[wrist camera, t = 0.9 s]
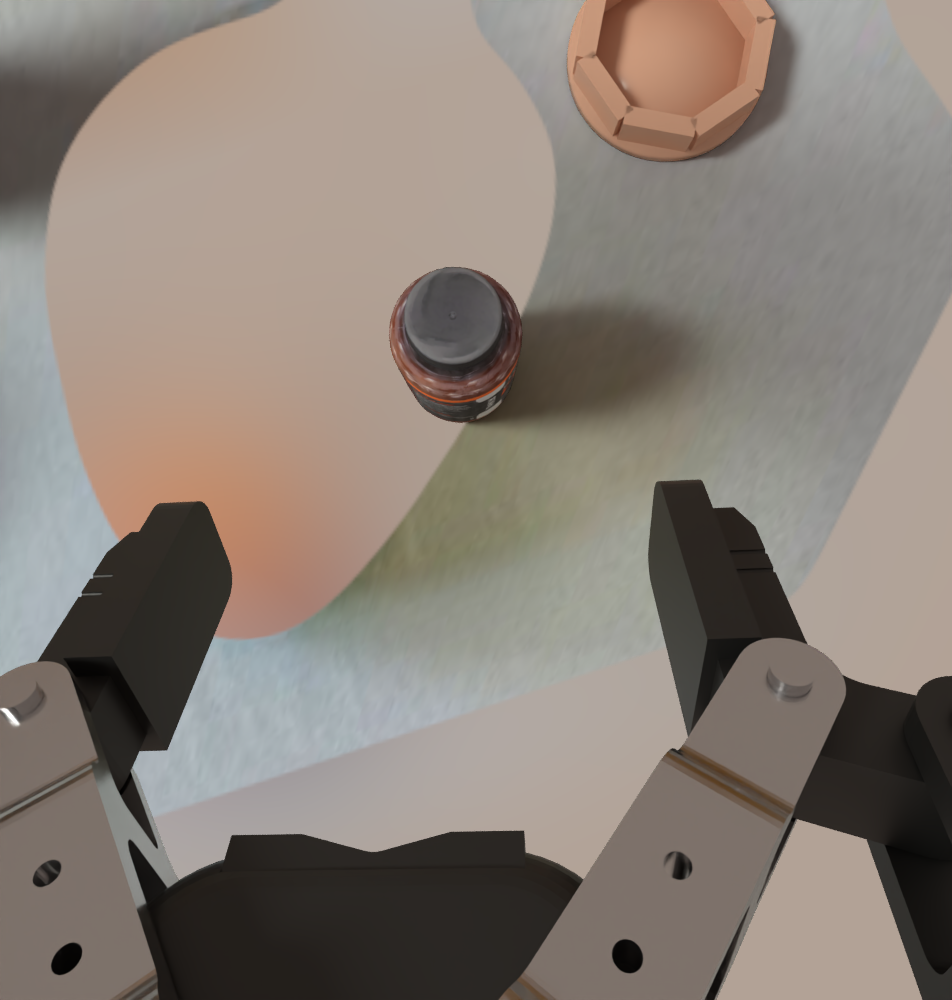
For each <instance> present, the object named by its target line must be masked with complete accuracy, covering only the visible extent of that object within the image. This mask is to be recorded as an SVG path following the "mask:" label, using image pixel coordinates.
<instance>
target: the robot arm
mask: <svg viewBox="0 0 952 1000" xmlns="http://www.w3.org/2000/svg"><path fill="white" fill-rule="evenodd" d="M648 561H649V573H650V580H651V585H652V589H653V593H654V597H655V602H656V606H657V610H658V614H659V618H660V622H661V626H662V631H663V635H664V639H665V643H666V647H667V651H668V655H669V659H670V663H671V668H672V672H673V676H674V680H675V684H676V689H677V693H678V697H679V701H680V705H681V709H682V713H683V717H684V722H685V725H686V730H687V734H688V738H687V740H686V741H685V743H684V744H683V745H682V747H681V748H680V749H679V750H676V749H673V748H672V749H670V750H669V751H668V752H667V753H666V754H665V755H664V757H663V758H662V759H661V760H660V762H659V764H658V765H657V766H656V768H655V770H654V771H653V773H652V774H651V776H650V777H649V779H648V780H647V782H646V784H645V785H644V787H643V788H642V790H641V791H640V793H639V794H638V796H637V798H636V799H635V801H634V802H633V804H632V805H631V807H630V809H629V810H628V812H627V813H626V815H625V816H624V818H623V819H622V821H621V823H620V824H619V826H618V827H617V829H616V830H615V832H614V834H613V835H612V837H611V838H610V840H609V842H608V843H607V844H606V846H605V847H604V849H603V851H602V852H601V854H600V855H599V857H598V858H597V860H596V861H595V863H594V864H593V866H592V868H591V869H590V871H589V872H588V874H587V875H586V877H585V878H584V880H583V879H582V878H581V877H579V876H578V875H577V874H575V873H574V872H572V871H570V870H568V869H567V868H565V867H563V866H561V865H560V864H558V863H555V862H553V861H550V860H548V859H545V858H543V857H540V856H536V855H533V854H529V853H526V852H525V838H524V831H476V832H449V833H445V834H441V835H438V836H434V837H431V838H427V839H423V840H420V841H417V842H412V843H409V844H405V845H402V846H398V847H394V848H391V849H387V850H384V851H379V852H367V851H363V850H359V849H355V848H352V847H348V846H344V845H340V844H337V843H333V842H329V841H326V840H321V839H318V838H314V837H311V836H307V835H302V834H286V835H232V836H231V840H230V843H229V847H228V850H227V853H226V856H225V860H222V861H218V862H216V863H213V864H211V865H208V866H206V867H204V868H201V869H199V870H197V871H195V872H193V873H191V874H189V875H187V876H185V877H184V878H182V879H180V880H179V879H178V878H177V876H176V874H175V872H174V870H173V868H172V866H171V863H170V861H169V859H168V856H167V854H166V851H165V848H164V846H163V843H162V840H161V838H160V835H159V832H158V830H157V827H156V824H155V822H154V819H153V816H152V814H151V811H150V808H149V806H148V803H147V800H146V798H145V795H144V792H143V790H142V787H141V784H140V782H139V779H138V777H137V775H136V773H135V771H134V770H133V768H132V767H133V764H134V762H135V760H136V758H137V755H138V753H139V751H160V750H167V749H168V747H169V744H170V742H171V739H172V737H173V735H174V732H175V730H176V727H177V725H178V722H179V720H180V717H181V715H182V712H183V710H184V708H185V705H186V703H187V700H188V698H189V695H190V693H191V690H192V688H193V685H194V683H195V681H196V678H197V676H198V673H199V671H200V668H201V666H202V663H203V661H204V658H205V656H206V654H207V651H208V649H209V646H210V644H211V641H212V639H213V636H214V634H215V631H216V629H217V627H218V624H219V622H220V619H221V617H222V614H223V612H224V609H225V607H226V604H227V602H228V599H229V597H230V593H231V588H232V572H231V567H230V563H229V560H228V557H227V555H226V552H225V550H224V547H223V545H222V542H221V539H220V537H219V534H218V532H217V529H216V527H215V524H214V522H213V519H212V516H211V514H210V511H209V509H208V507H207V506H206V505H205V504H204V503H203V502H200V501H197V502H176V503H159V504H157V505H156V506H155V507H154V508H153V510H152V512H151V513H150V515H149V517H148V518H147V520H146V522H145V523H144V525H143V526H142V528H141V530H140V531H139V532H131V533H129V534H128V535H127V536H126V537H125V538H123V539H122V540H121V541H120V542H119V543H117V544H116V545H115V546H114V547H113V548H112V549H110V550H109V551H108V552H107V553H106V555H105V556H104V558H103V559H102V561H101V563H100V564H99V566H98V567H97V569H96V570H95V572H94V574H93V579H90V580H89V581H88V583H87V585H86V586H85V588H84V589H83V591H82V592H81V593H82V597H78V599H77V600H76V602H75V603H74V605H73V606H72V608H71V610H70V611H69V613H68V614H67V616H66V617H65V619H64V621H63V622H62V624H61V625H60V627H59V628H58V630H57V632H56V633H55V635H54V636H53V638H52V639H51V641H50V643H49V644H48V646H47V647H46V649H45V650H44V652H43V654H42V655H41V657H40V658H39V660H38V661H37V662H35V663H30V664H26V665H23V666H20V667H18V668H15V669H13V670H11V671H9V672H7V673H5V674H4V675H2V676H1V677H0V1000H716V999H717V997H718V995H719V993H720V990H721V988H722V986H723V984H724V982H725V980H726V977H727V975H728V973H729V971H730V968H731V966H732V964H733V962H734V960H735V957H736V955H737V953H738V950H739V948H740V946H741V943H742V941H743V939H744V936H745V934H746V932H747V929H748V927H749V924H750V922H751V920H752V917H753V915H754V913H755V911H756V909H757V907H758V904H759V902H760V900H761V898H762V895H763V893H764V891H765V889H766V887H767V885H768V882H769V880H770V878H771V876H772V874H773V872H774V869H775V867H776V865H777V863H778V861H779V858H780V856H781V854H782V852H783V849H784V848H785V845H786V843H787V841H788V839H789V837H790V834H791V832H792V830H793V828H794V826H795V824H796V821H797V819H799V820H802V821H806V822H809V823H813V824H816V825H819V826H823V827H827V828H830V829H833V830H837V831H840V832H843V833H847V834H851V835H854V836H858V837H861V838H864V839H867V842H868V845H869V847H870V850H871V853H872V856H873V859H874V862H875V865H876V868H877V870H878V873H879V876H880V879H881V882H882V885H883V888H884V891H885V893H886V896H887V899H888V902H889V905H890V908H891V911H892V913H893V916H894V919H895V922H896V925H897V928H898V931H899V933H900V936H901V939H902V942H903V945H904V948H905V951H906V953H907V956H908V959H909V962H910V965H911V968H912V971H913V973H914V977H915V979H916V982H917V985H918V988H919V991H920V994H921V996H922V1000H952V676H945V677H940V678H935V679H933V680H931V681H929V682H927V683H926V684H924V685H923V686H922V687H921V689H920V690H919V691H918V694H917V695H916V696H915V695H911V694H906V693H902V692H898V691H893V690H889V689H885V688H880V687H876V686H871V685H868V684H864V683H860V682H857V681H855V680H852V679H850V678H847V677H845V676H843V675H842V674H841V672H840V670H839V669H838V667H837V666H836V665H835V664H834V663H833V662H832V660H830V659H829V658H828V657H827V656H826V655H825V654H823V653H822V652H820V651H818V650H817V649H816V648H814V647H811V646H810V645H808V644H807V642H806V641H805V638H804V636H803V634H802V631H801V629H800V627H799V625H798V623H797V620H796V618H795V615H794V613H793V611H792V609H791V607H790V604H789V602H788V600H787V597H786V595H785V593H784V591H783V588H782V586H781V584H780V582H779V579H778V577H777V575H776V573H775V572H773V566H772V563H771V561H770V559H769V557H768V554H765V548H764V545H763V543H762V541H761V539H760V536H759V534H758V532H757V530H756V527H755V526H754V525H753V524H752V523H751V522H750V521H748V520H747V519H746V518H745V517H744V516H743V515H742V514H741V513H740V512H738V511H737V510H736V509H735V508H734V507H731V508H713V507H712V504H711V502H710V499H709V496H708V494H707V491H706V489H705V486H704V484H703V482H702V481H701V480H679V481H658V482H656V485H655V489H654V497H653V507H652V518H651V528H650V538H649V550H648Z"/></svg>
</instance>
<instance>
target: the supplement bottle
mask: <svg viewBox="0 0 952 1000" xmlns="http://www.w3.org/2000/svg"><path fill="white" fill-rule="evenodd" d="M389 333H390V334H389V338H390V347H391V351H392V355H393V357H394V360H395V362H396V364H397V366H398V368H399V370H400V372H401V374H402V375H403V377H404V379H405V381H406V383H407V385H408V386H409V388H410V390H411V391H412V393H413V394H414V396H415V398H416V399H417V400H418V402H419V403H420V405H421V406H422V407H423V408H424V409H425V410H427V411H428V412H429V413H431V414H432V415H434V416H436V417H438V418H440V419H443V420H446V421H451V422H458V423H463V422H470V421H474V420H477V419H480V418H483V417H484V416H486V415H488V414H490V413H491V412H493V411H494V410H495V409H496V408H497V407H498V406H499V405H500V404H501V403H502V402H503V400H504V399H505V397H506V395H507V394H508V392H509V390H510V388H511V385H512V382H513V379H514V375H515V371H516V367H517V363H518V359H519V355H520V350H521V343H522V324H521V319H520V315H519V312H518V310H517V307H516V305H515V303H514V301H513V299H512V298H511V296H510V295H509V293H508V292H507V291H506V290H505V289H504V288H503V286H502V285H500V284H499V283H498V282H496V281H495V280H494V279H493V278H491V277H490V276H488V275H485V274H483V273H482V272H479V271H476V270H472V269H468V268H461V267H446V268H443V269H437V270H435V271H432V272H429V273H427V274H425V275H423V276H422V277H420V278H419V279H417V280H415V281H414V282H413V283H412V284H411V285H410V286H409V287H408V288H407V289H406V290H405V291H404V292H403V294H402V295H401V296H400V298H399V300H398V301H397V304H396V305H395V308H394V311H393V313H392V317H391V321H390V330H389Z"/></svg>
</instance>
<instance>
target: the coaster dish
mask: <svg viewBox="0 0 952 1000" xmlns="http://www.w3.org/2000/svg"><path fill="white" fill-rule="evenodd" d="M773 16H774V12H773V11H772V9H771V8H770V6H769V5H768V3H767V2H766V1H765V0H586V1H585V2H584V4H583V6H582V8H581V9H580V11H579V13H578V15H577V17H576V20H575V22H574V25H573V28H572V32H571V36H570V40H569V45H568V53H567V75H568V82H569V86H570V90H571V94H572V97H573V99H574V102H575V104H576V106H577V108H578V110H579V112H580V113H581V115H582V117H583V118H584V120H585V121H586V122H587V124H588V125H589V126H590V127H591V129H592V130H593V131H594V132H595V133H596V134H597V135H598V136H599V137H600V138H602V139H603V140H604V141H606V142H607V143H608V144H610V145H611V146H613V147H615V148H616V149H618V150H620V151H622V152H624V153H626V154H629V155H631V156H634V157H637V158H641V159H645V160H652V161H679V160H686V159H689V158H693V157H696V156H699V155H702V154H704V153H706V152H709V151H711V150H712V149H714V148H716V147H718V146H719V145H721V144H722V143H724V142H725V141H726V140H727V139H729V138H730V137H731V136H732V135H733V134H734V133H735V132H736V131H737V130H738V129H739V128H740V127H741V126H742V124H743V123H744V122H745V120H746V119H747V118H748V116H749V115H750V113H751V112H752V110H753V109H754V107H755V105H756V103H757V102H758V100H759V97H760V95H761V92H762V91H763V87H764V83H765V80H766V76H767V68H768V60H769V55H770V49H771V44H772V39H773V33H774V28H775V23H776V20H774V19H772V18H773Z"/></svg>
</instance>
